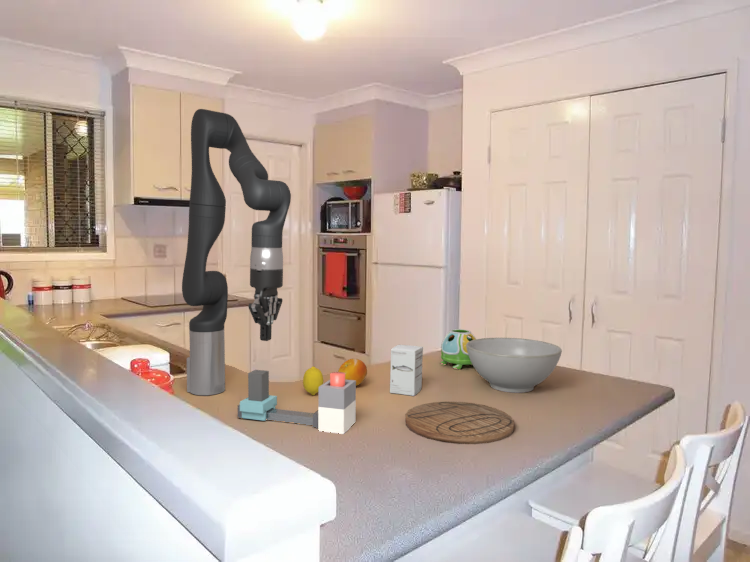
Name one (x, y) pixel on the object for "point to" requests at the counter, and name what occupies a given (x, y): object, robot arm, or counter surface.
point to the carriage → (257, 396)
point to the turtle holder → (456, 348)
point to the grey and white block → (337, 407)
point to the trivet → (459, 422)
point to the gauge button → (337, 379)
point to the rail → (290, 416)
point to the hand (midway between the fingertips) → (265, 340)
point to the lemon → (312, 380)
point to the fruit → (354, 370)
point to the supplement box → (406, 369)
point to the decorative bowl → (513, 362)
